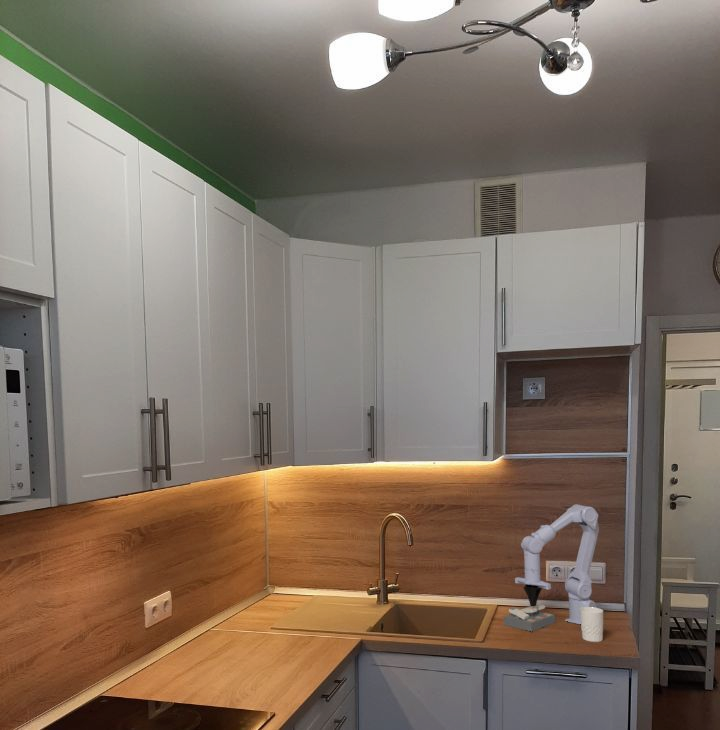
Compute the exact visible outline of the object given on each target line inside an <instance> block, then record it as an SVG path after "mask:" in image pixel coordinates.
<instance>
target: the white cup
mask: <svg viewBox="0 0 720 730" xmlns="http://www.w3.org/2000/svg"><path fill="white" fill-rule="evenodd" d="M580 619H581V625H580V626H581V627H580V628H581V638H582V639H583V640H585V641H586V642H593V643H599V642H602V641H603V638H604V636H603V635H604V634H603V633H604V609H601V608H600V607H599V608H598V607H596V608H595V607H582V608H580Z"/></svg>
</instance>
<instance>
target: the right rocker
mask: <svg viewBox="0 0 720 730" xmlns="http://www.w3.org/2000/svg"><path fill="white" fill-rule="evenodd" d="M525 608H537V610H539V611H540V610H543V609H546V606H545V604H540V605H539V604H538V605H536V606H530V605H528V606H526V607H525ZM525 608H524V609H525Z"/></svg>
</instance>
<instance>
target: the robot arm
mask: <svg viewBox="0 0 720 730" xmlns="http://www.w3.org/2000/svg"><path fill="white" fill-rule="evenodd" d="M598 520H599V513H598V512H597V511H596V509H595V508H594V507H592V506H586V505H581V504H577V503H576V504H573V505H572V506H571V507H569V508H567V510H566V512H564V513H563V514H561V516H560V517H558V518H556V519H555V520H554V521H553V522H552V523H551V524H550V525H549V524H545V525H540V527H539V529H538V530H536V531H534V532H532V533H531V534H530V535H527V536H525V537H524V538H523V539H522V541H521V543H520V546H521V548H522V550H523V555H524V557H523V558H524V559H523V561H524V577H519V576H517V577H515V578H514V581H515V582H514V583H515V584H520V585H524V586H523V590H524V592H525V594H526V595H527V598H528V601H529V606H537V603H538V599H539V596H540V594H541V591H542V589H545V590H549V591H550V590H551V589H552V584H551V583H549V582H546V581H543V580H541V562H540V561H541V560H540V558H541V557H540V556H541V555H540V553H541V552H542V551H543V547H544V546H545V545H546V544H547V543H549V542H551V541H552V540H553V539H554V538H555V537H556V534H557V532H559V531H561V530H562V529H564V528H565V527H567V526H569V525H570V524H572V523H577V524H578V525H579V526H580V527H581V529H582V536H581V540H580V545H579V548H578V552H577V557H576V561H575V566H574V570H572V571H571V572H570V573H569V575H568V577H567V579H566V580H565V583H564V588H565V591H566V592H567V593H568V594H567V595H568V607H569V608H568V610H569V611H568V613H569V618H566V619H564V622H567V621H568V622H569V623H572V624H577V625H580V624H581V619H580V608H582V607H595V608H597V605H596V602H595V601H594V600H591V599H590V597H591V595H592V592H593V589H592V583H593V581H592V579H591V577H590V570H591V567H592V562H593V558H594V554H595V549H596V545H597V541H598V536H599V532H600V527H599V522H598ZM568 622H567V623H568Z"/></svg>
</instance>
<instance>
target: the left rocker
mask: <svg viewBox="0 0 720 730" xmlns="http://www.w3.org/2000/svg"><path fill="white" fill-rule="evenodd" d="M519 609H520V608H517V607H515V606H512V607H510V608H509V609H508V612H509V613H510V614H514V615H516V616H518V617H520V618H522V619H523V620H525V619H528V618H529V615H528V614H526V613H524V612H522V611H520V610H519Z"/></svg>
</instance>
